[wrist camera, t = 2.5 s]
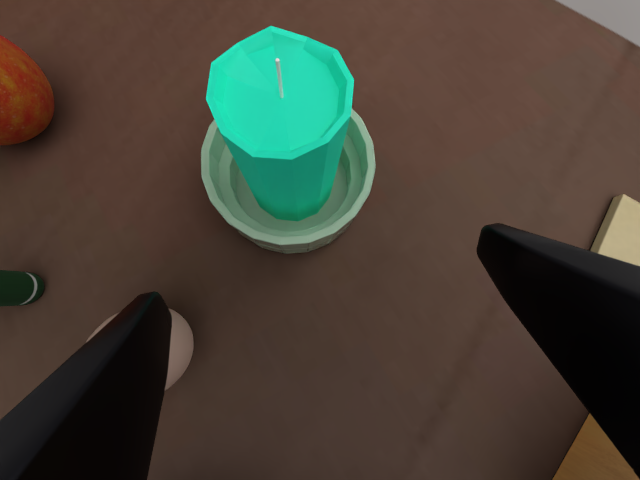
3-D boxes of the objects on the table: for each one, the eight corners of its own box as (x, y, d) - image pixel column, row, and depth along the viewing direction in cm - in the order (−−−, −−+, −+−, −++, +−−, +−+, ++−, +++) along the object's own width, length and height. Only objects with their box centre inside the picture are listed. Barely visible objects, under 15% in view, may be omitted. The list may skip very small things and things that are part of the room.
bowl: (314, 281, 22) (317, 279, 17) (192, 205, 22) (164, 183, 18) (386, 165, 23) (405, 135, 19) (272, 97, 24) (264, 52, 19)
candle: (348, 189, 22) (396, 74, 11) (285, 238, 22) (261, 173, 10) (298, 130, 23) (291, -39, 11) (235, 176, 22) (155, 44, 10)
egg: (119, 374, 20) (24, 415, 13) (142, 296, 21) (64, 298, 14) (195, 388, 20) (140, 438, 13) (215, 311, 21) (173, 320, 14)
